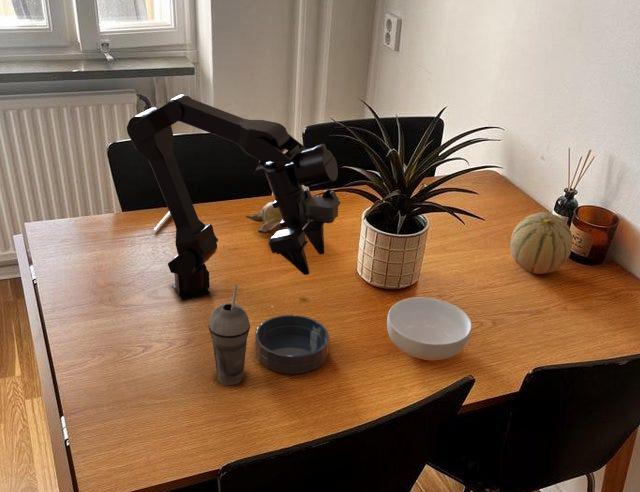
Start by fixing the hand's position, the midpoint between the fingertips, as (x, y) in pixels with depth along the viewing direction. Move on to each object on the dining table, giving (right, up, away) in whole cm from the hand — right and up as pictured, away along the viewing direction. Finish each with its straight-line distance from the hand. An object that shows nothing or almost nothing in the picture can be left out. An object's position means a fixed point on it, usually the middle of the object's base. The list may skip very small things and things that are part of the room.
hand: (314, 263), depth 140 cm
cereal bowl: (+22, -17, +3) cm, 28 cm away
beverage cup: (-15, -22, -10) cm, 29 cm away
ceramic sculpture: (-11, +13, +42) cm, 45 cm away
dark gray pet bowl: (-4, -18, -3) cm, 18 cm away
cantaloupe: (+53, +1, +34) cm, 63 cm away
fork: (-40, +16, +43) cm, 60 cm away
